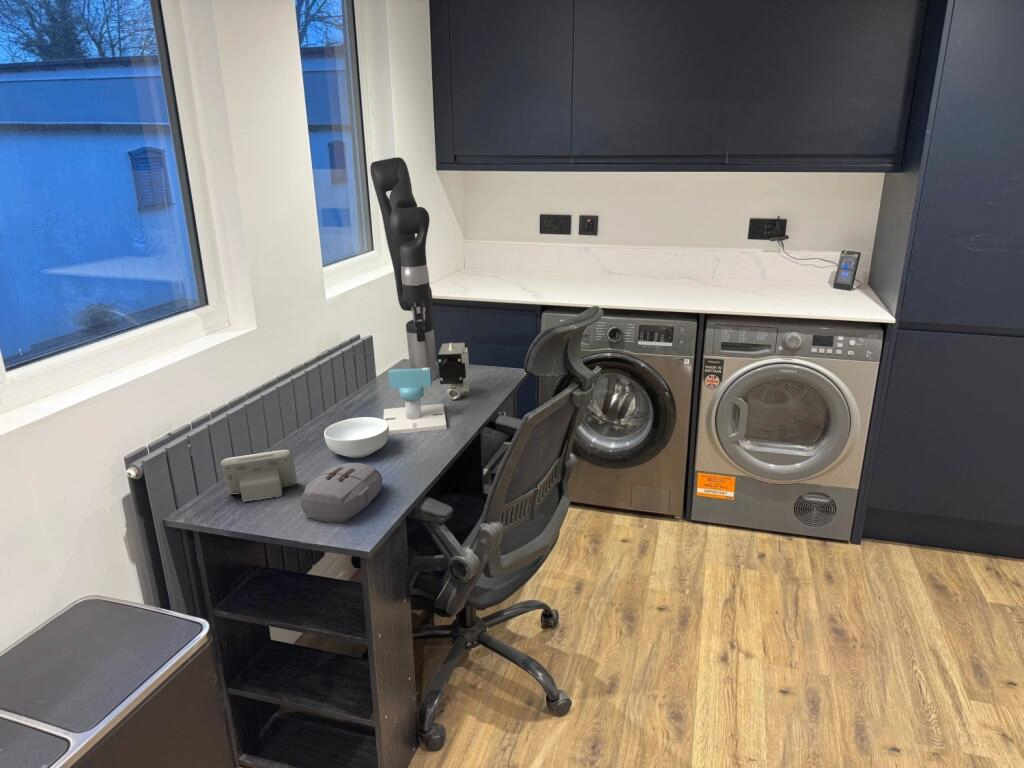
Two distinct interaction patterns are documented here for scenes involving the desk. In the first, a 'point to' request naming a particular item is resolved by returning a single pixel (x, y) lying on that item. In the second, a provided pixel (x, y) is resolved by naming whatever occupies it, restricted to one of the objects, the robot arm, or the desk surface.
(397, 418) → the base plate
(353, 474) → the small grey backpack
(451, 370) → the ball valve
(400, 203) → the robot arm
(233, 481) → the digital clock
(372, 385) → the desk surface
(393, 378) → the blue switch lever
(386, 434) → the cereal bowl
